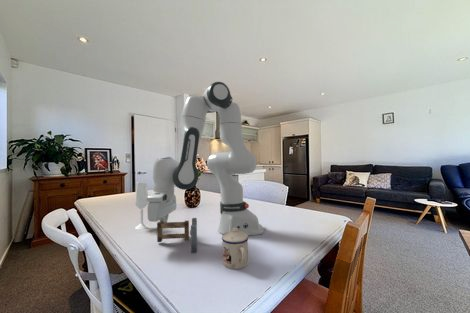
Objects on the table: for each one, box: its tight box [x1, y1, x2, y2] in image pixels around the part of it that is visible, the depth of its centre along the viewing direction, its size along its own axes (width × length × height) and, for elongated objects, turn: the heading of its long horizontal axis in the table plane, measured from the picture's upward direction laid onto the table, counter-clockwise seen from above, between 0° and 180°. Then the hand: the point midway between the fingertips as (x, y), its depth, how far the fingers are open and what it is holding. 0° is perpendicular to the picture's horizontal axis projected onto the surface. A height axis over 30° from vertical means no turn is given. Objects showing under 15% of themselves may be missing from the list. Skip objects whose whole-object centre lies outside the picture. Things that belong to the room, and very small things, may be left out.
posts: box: [189, 217, 198, 254], centre depth 80 cm, size 3×11×10 cm, turn 4°
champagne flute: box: [134, 181, 149, 230], centre depth 105 cm, size 7×7×24 cm
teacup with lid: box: [221, 228, 249, 270], centre depth 66 cm, size 12×9×12 cm
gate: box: [156, 220, 190, 243], centre depth 84 cm, size 13×3×8 cm, turn 94°
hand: (163, 225), depth 86 cm, fingers closed
